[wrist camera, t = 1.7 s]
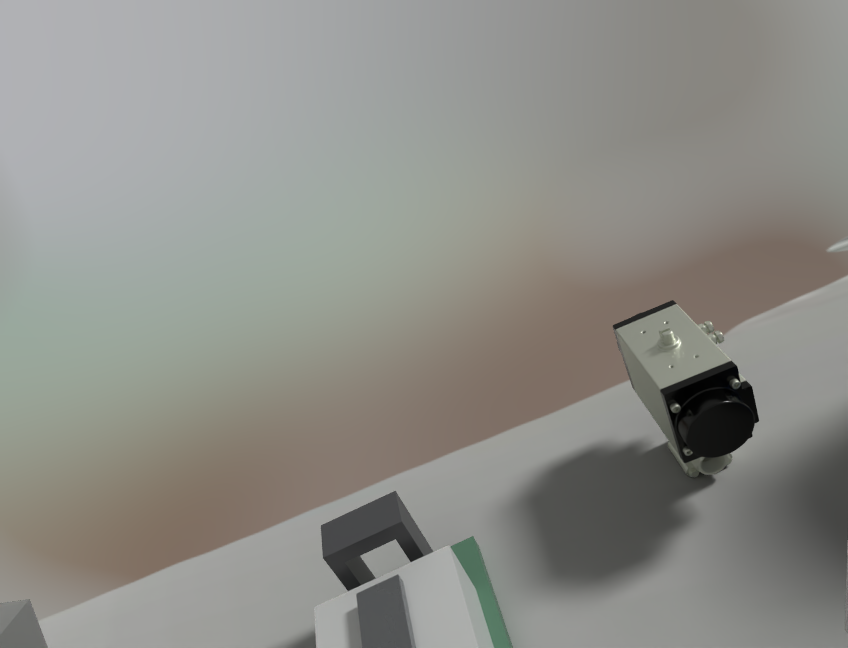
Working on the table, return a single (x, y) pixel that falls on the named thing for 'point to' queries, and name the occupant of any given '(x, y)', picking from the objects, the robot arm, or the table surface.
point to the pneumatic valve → (688, 386)
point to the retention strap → (385, 615)
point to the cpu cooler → (409, 582)
